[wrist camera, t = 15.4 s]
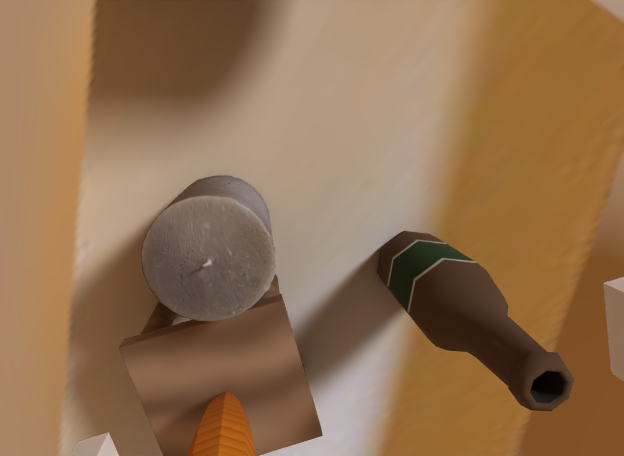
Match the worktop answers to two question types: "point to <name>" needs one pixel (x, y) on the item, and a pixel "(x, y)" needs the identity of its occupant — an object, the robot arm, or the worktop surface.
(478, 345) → the beer bottle
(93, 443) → the robot arm
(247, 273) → the pillar candle
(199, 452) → the carrot
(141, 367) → the walnut stool
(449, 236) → the worktop surface
